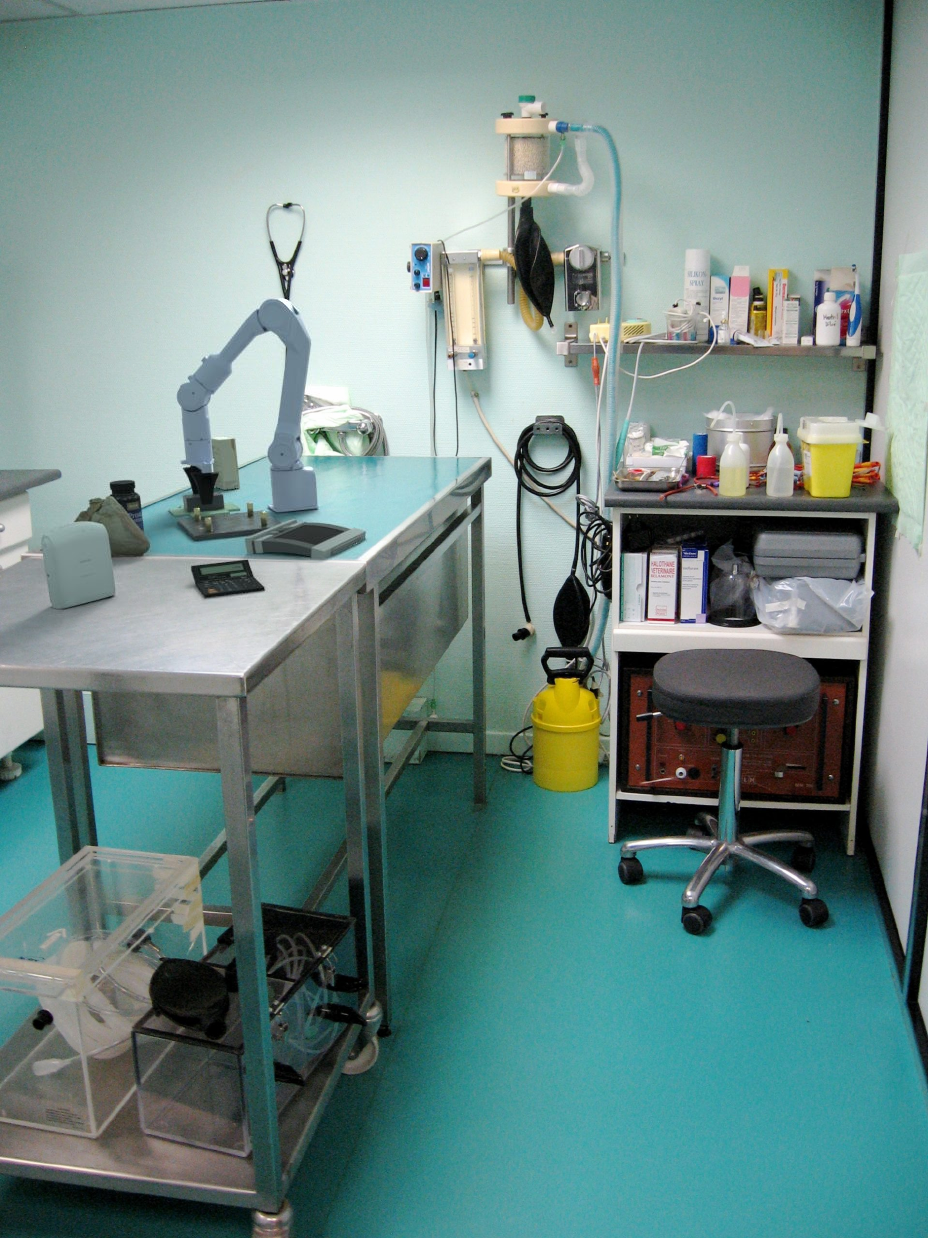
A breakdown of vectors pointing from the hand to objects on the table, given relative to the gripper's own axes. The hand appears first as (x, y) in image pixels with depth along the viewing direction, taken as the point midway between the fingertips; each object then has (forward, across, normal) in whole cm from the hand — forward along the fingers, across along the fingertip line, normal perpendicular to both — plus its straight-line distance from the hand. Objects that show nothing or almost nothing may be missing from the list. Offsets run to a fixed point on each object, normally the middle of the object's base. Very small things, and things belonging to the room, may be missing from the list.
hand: (203, 501), depth 232 cm
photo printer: (+2, +64, -32) cm, 72 cm away
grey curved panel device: (+3, +45, +10) cm, 46 cm away
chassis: (+2, +21, +1) cm, 21 cm away
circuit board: (+3, 0, 0) cm, 3 cm away
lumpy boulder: (+2, +32, -23) cm, 40 cm away
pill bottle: (+2, +20, -19) cm, 28 cm away
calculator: (+2, +66, -10) cm, 67 cm away
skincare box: (+2, -26, +11) cm, 28 cm away
